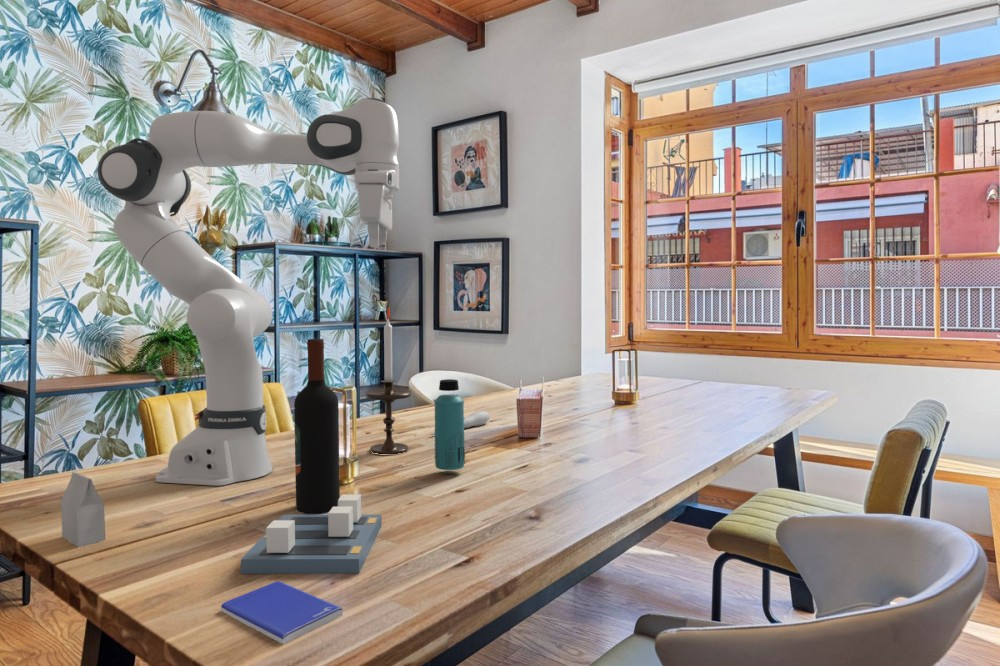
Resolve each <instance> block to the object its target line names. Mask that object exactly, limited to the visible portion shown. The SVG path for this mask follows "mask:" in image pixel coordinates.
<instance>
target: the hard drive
mask: <svg viewBox="0 0 1000 666" xmlns="http://www.w3.org/2000/svg"><path fill="white" fill-rule="evenodd" d="M220 609H221V612H222V611H223V612H222V613H224V614H225V613H227V614H228V615H227V614H226V615H227V616H229V615H230V617H231V618H233V619H235V620H236V619H237V621H238V620H239V622H241V623H243V624H244V625H246V626H247V627H249V628H251V627H252V629H253V628H254V630H255V629H256V630H255V631H257V632H259V631H260V632H259V633H261V632H262V633H261V634H263V635H265V636H267V637H269V638H270V639H272V640H275V641H276V642H278V643H280V644H282V645H285V644H287V643H289V642H292V641H293V640H295V639H297V638H299V637H302V636H304V635H305V634H308V633H309V632H311V631H313V630H315V629H318V628H319V626H320V627H322V626H324V625H325V624H327V623H329V622H331V621H334V620H336V619H337V618H339V617H342V616H343V612H344V611H343V608H342V607H341V606H339V605H336V604H334V603H331V602H329V601H326V600H324V599H323V598H322V599H321V598H319V597H317V596H315V595H312V594H310V593H307V592H305V591H304V590H301V589H298V588H297V587H294V586H292V585H289V584H286V583H284V582H282V581H275V582H272V583H269V584H267V585H264V586H262V587H258V588H257V589H254V590H251V591H250V592H247V593H244V594H242V595H239V596H236V597H234V598H232V599H229V600H226V601H225V602H223V603H222V604H221V607H220Z"/></svg>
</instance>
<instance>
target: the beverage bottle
mask: <svg viewBox="0 0 1000 666" xmlns="http://www.w3.org/2000/svg"><path fill="white" fill-rule="evenodd" d="M459 388H460V387H459V380H458V379H452V378H451V379H441V380H439V386H438V390H439V391H443V392H451V391H453V392H454V391H459ZM433 404H434V430H433V431H434V432H435V434H434V435H433V437H434V441H433V442H434V445H433V446H434V452H433V453H434V464H435V465H434V466H435V467H436V469H439V470H442V471H443V470H445V471H455V470H456V471H457V470H460V469H463V468H464V467H465V464H466V460H465V458H466V452H465V440H466V439H465V437H466V436H465V435H466V434H465V433H466V432H465V428H464V426H465V424H464V418H465V415H464V413H465V411H464V408H465V406H464V405H465V400H464V399H463V398H462V397H461V396H460V395H458V394H441V395H439V396H438V397H437V398H436V399H435V400H434V402H433Z"/></svg>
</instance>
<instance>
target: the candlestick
mask: <svg viewBox="0 0 1000 666" xmlns="http://www.w3.org/2000/svg"><path fill="white" fill-rule="evenodd" d="M390 309H391V307H390V306H388V308H387V309H386V311H387V313H386V323H385V325H383V341H384V343H383V347H384V348H383V349H384V350H383V352H384V353H383V354H384V358H383V359H384V364H383V365H384V369H383V370H384V380H380V383H384V384H383V387H384V388H376V389H371V390H367V391H365V398H366V399H370V400H380V401H382V402H383V403H385V417H384V418H383V420H382V422H383V424H385V428H384V429H383V432H385V436H386V437H385V440H384V442H383V443H378V444H374V445H371V446H370V448H369V452H370V451H372V452H373V453H378V454H398V453H403V452H405V453H407V452H408V451H409V446H408V445H407V444H406V443H405V444H404V443H400V442H398V443H397V442H394V440H393V432H395V429H394V428H393V425H394V423H395V421H396V420H395V417H392V414H393V413H392V410H393V409H392V408H393V407H392V405H393V404H392V403H394V402H395V401H397V400H400V399H401V400H402V399H407V398H411V397H412V390H410V389H406V388H394V383H395V382H397V379H396V380H394V379H393V325H391V323H390V316H391V310H390ZM407 450H408V451H407ZM406 451H407V452H406ZM403 454H404V453H403ZM398 455H399V454H398Z"/></svg>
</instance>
